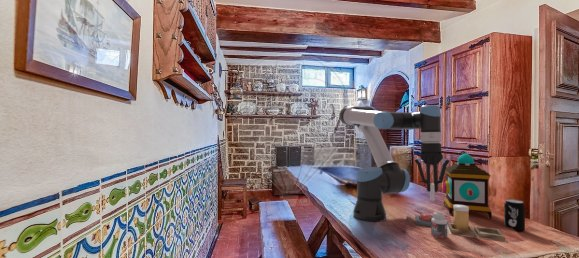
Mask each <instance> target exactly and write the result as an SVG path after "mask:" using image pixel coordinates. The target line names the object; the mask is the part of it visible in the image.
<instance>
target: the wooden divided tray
mask: <svg viewBox="0 0 579 258" xmlns="http://www.w3.org/2000/svg"><path fill="white" fill-rule="evenodd" d="M447 232H448V233H449V235H453V236H460V237H461V236H462V237H468V238H477V239H483V240H490V241H499V242H505V243H508V240H506V236H505V235H504V233H503V232H501V230H500V229H498V228H492V227H482V226H475V225H473V226H472V225H469V231H464V230H456V229H454V223H453V222H447Z"/></svg>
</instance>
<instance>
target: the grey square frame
mask: <svg viewBox="0 0 579 258" xmlns="http://www.w3.org/2000/svg"><path fill="white" fill-rule="evenodd" d="M432 218H434V217H433V216H431V219H432ZM414 222H415V225H416V226H422V227H430V228H431V221H425V220H420V214H419V215H418V214H417V215H416V214H415V215H414Z"/></svg>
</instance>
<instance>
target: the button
mask: <svg viewBox="0 0 579 258" xmlns="http://www.w3.org/2000/svg"><path fill="white" fill-rule="evenodd" d="M419 216H420V220H425V221H431V217H432V216H431V214H430V213H424V212H423V213H420V214H419Z"/></svg>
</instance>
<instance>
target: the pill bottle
mask: <svg viewBox="0 0 579 258" xmlns="http://www.w3.org/2000/svg"><path fill="white" fill-rule="evenodd" d="M432 213H433V214H432V217H434V218H432V219H431V227H430V228H431V229H430V230H431V231H430V234H431V237H433V238H436V239H440V240H441V239H442V240H444V239H448V228H447V226H448V220H446V214H445V213H443V212H439V211H434V212H432Z"/></svg>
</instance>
